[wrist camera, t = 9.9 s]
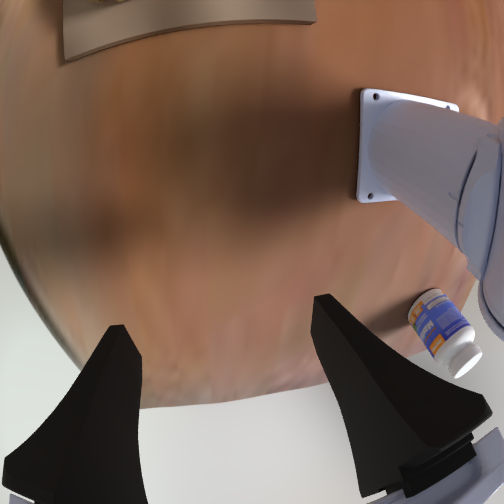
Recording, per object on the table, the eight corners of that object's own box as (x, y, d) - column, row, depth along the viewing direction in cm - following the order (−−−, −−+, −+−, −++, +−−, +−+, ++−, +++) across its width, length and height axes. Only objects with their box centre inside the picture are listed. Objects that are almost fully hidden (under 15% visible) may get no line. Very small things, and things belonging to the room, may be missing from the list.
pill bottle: (407, 300, 26) (454, 369, 18) (443, 279, 26) (493, 339, 18) (405, 328, 29) (443, 390, 21) (439, 308, 29) (479, 364, 21)
